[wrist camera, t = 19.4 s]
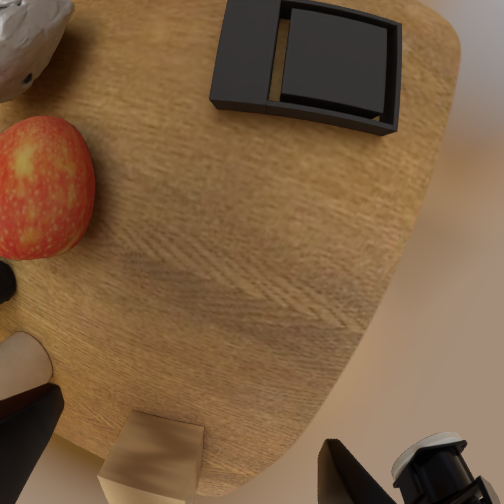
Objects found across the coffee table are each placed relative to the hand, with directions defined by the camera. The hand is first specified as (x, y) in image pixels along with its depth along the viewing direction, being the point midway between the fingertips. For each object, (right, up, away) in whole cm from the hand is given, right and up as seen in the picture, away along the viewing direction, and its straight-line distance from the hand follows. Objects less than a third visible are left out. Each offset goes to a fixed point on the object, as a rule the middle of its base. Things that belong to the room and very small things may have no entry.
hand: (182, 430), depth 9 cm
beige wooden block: (-5, -12, +15) cm, 20 cm away
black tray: (+6, +17, +8) cm, 19 cm away
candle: (-18, -4, +15) cm, 24 cm away
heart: (-13, +20, +8) cm, 26 cm away
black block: (+7, +17, +8) cm, 20 cm away
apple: (-10, +10, +11) cm, 18 cm away
